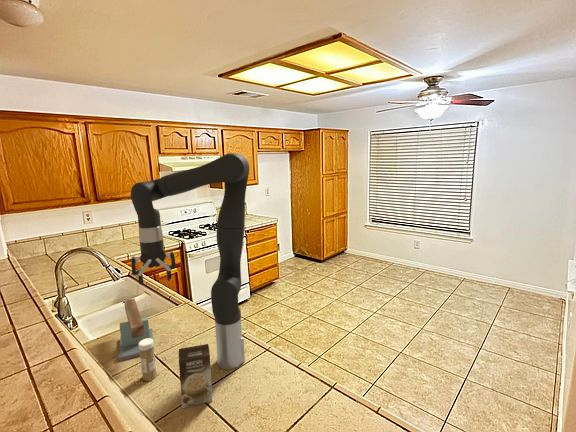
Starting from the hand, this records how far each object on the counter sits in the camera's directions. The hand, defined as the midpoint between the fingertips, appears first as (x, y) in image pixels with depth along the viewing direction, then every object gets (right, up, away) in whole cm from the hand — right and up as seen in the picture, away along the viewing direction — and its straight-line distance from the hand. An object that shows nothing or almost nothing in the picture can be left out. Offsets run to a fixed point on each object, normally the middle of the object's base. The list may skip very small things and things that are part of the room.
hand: (155, 282), depth 107 cm
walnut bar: (-14, -18, +11) cm, 25 cm away
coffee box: (+19, -33, -14) cm, 41 cm away
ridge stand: (-13, -28, +13) cm, 34 cm away
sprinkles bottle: (0, -32, -4) cm, 32 cm away
